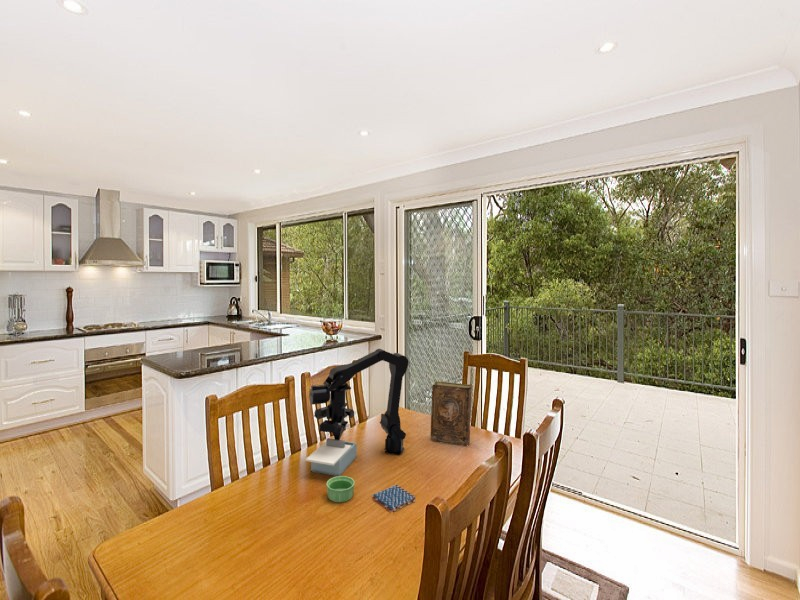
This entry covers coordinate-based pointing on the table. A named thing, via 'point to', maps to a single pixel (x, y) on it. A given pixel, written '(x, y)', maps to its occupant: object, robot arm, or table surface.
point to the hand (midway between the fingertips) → (337, 441)
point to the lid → (329, 452)
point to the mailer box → (340, 465)
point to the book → (451, 413)
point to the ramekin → (340, 488)
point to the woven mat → (393, 498)
